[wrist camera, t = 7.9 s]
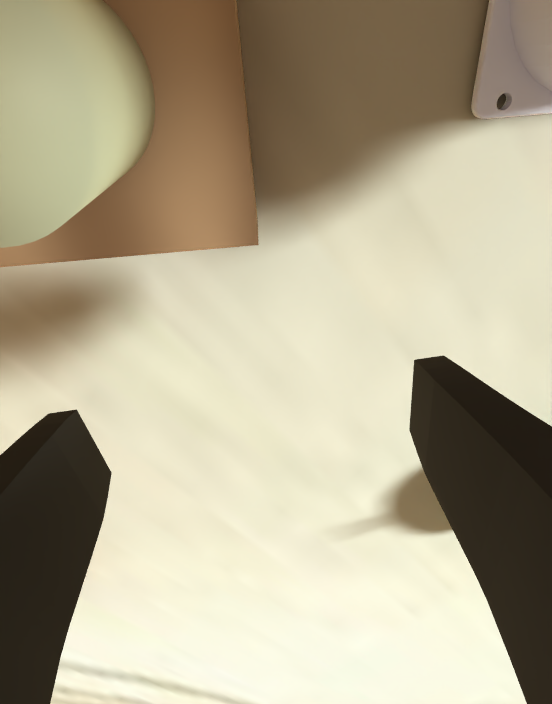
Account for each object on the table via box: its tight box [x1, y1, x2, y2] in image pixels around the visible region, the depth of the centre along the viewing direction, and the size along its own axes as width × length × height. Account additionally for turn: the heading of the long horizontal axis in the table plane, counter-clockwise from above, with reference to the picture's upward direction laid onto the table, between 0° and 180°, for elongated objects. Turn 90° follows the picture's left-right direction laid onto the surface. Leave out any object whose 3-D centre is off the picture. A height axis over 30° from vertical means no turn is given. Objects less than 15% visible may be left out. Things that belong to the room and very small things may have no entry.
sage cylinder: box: [0, 0, 155, 248], centre depth 9 cm, size 5×5×6 cm
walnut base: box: [0, 0, 258, 267], centre depth 13 cm, size 10×10×3 cm
